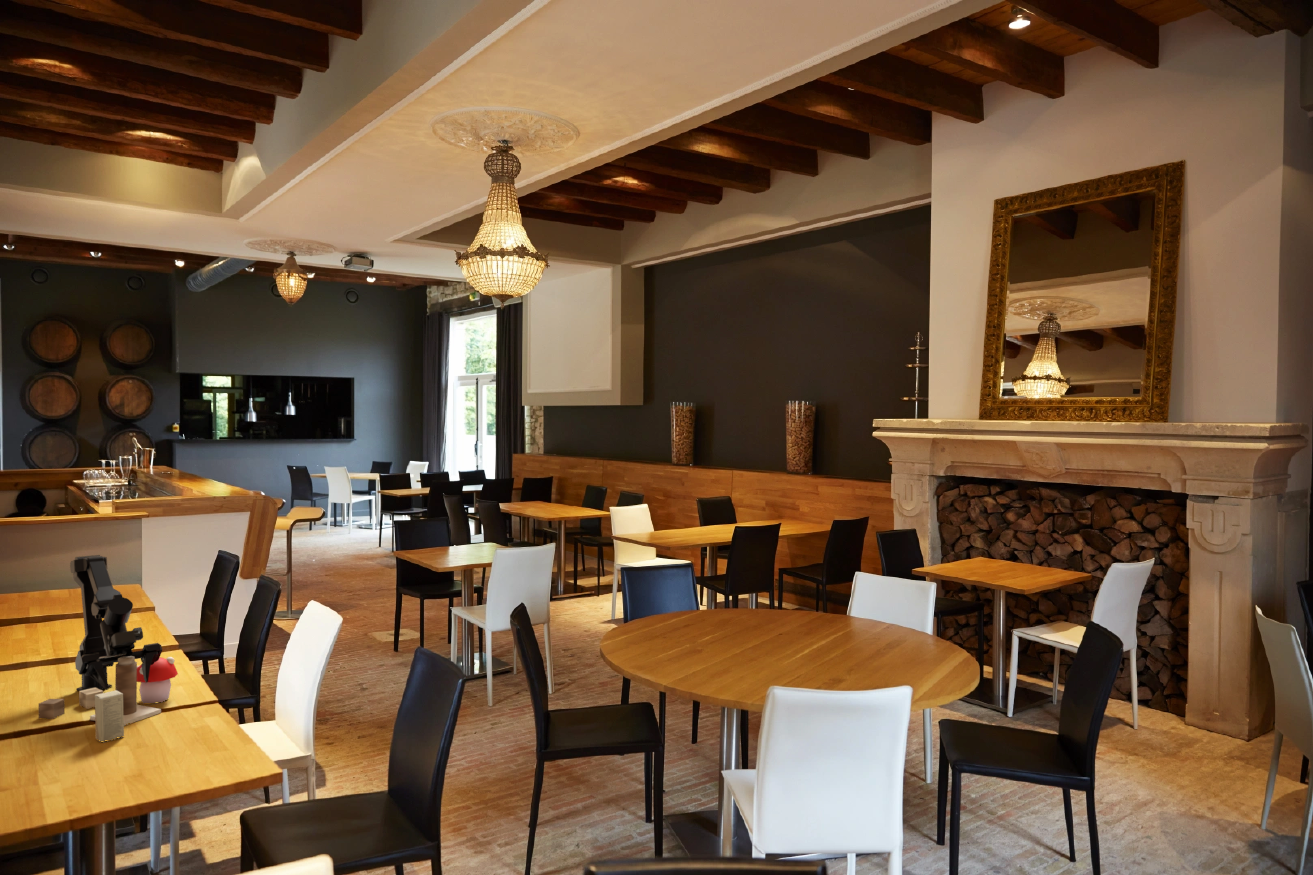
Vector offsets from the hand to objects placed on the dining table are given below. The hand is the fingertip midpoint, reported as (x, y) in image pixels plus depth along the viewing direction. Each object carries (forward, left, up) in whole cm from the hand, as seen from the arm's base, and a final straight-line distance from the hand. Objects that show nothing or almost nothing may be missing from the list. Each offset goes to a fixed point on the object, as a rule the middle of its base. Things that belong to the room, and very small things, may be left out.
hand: (127, 685), depth 226 cm
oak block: (-18, +3, -9) cm, 21 cm away
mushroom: (-6, +13, -9) cm, 17 cm away
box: (+10, -12, -9) cm, 18 cm away
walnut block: (-19, -7, -9) cm, 22 cm away
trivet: (-1, +1, -9) cm, 9 cm away
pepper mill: (-1, +1, -8) cm, 8 cm away
